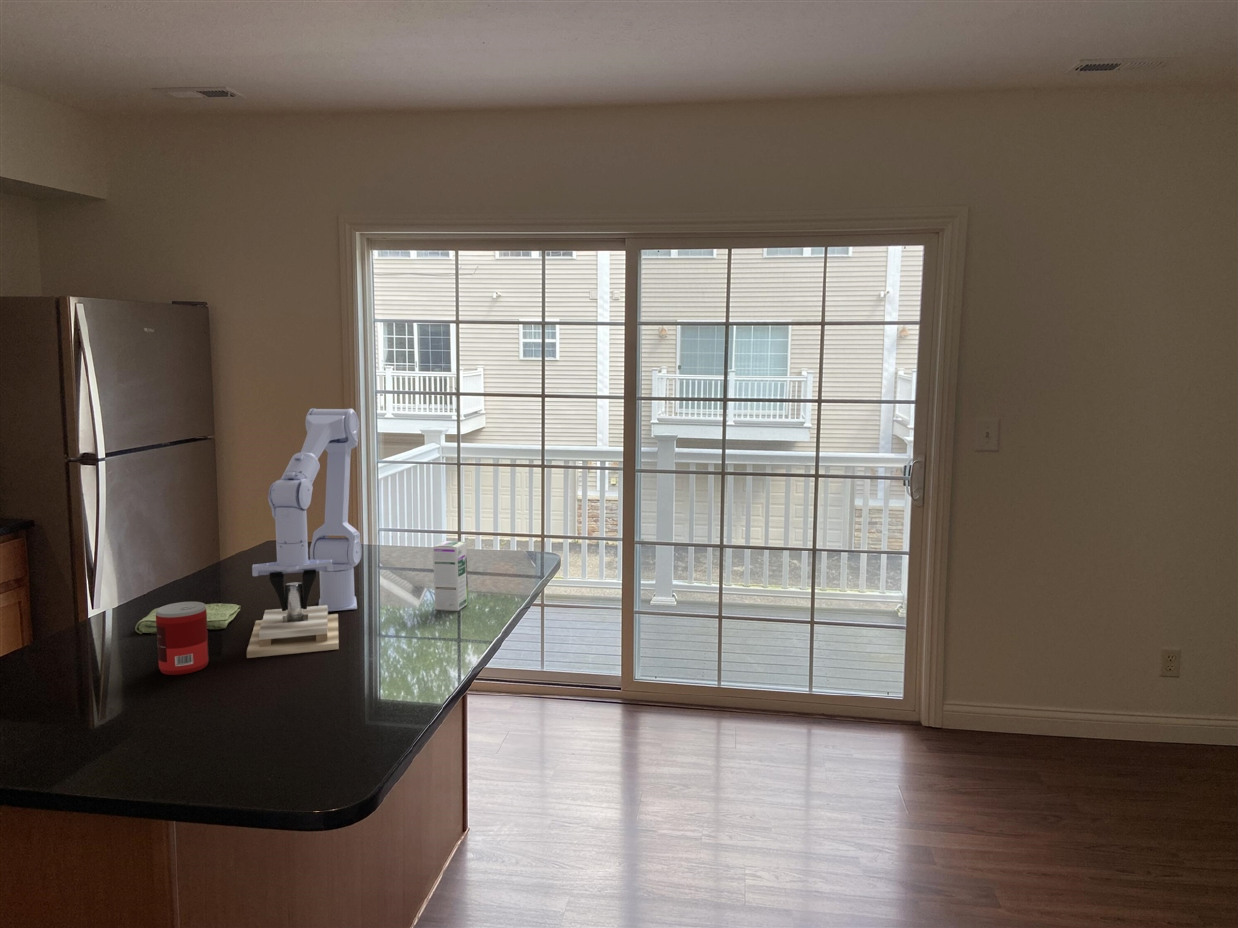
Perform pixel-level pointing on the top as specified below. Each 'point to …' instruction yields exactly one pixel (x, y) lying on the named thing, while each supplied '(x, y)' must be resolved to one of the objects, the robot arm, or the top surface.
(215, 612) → the washcloth
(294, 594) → the tube
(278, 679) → the top surface
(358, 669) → the top surface
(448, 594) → the syrup box
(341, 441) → the robot arm
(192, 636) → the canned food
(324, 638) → the collar stand
